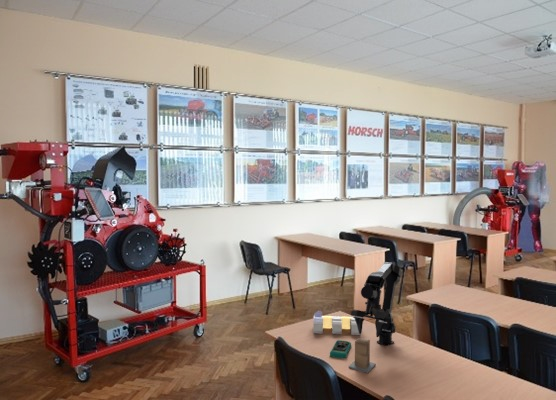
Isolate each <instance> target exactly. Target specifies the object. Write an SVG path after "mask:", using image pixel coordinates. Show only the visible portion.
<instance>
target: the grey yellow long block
mask: <svg viewBox="0 0 556 400" xmlns="http://www.w3.org/2000/svg"><path fill="white" fill-rule="evenodd" d="M313 314H314V315H313V317H312V318H313V334H324V329H331V328H332V329H331V330H332V332H331V334H332V335H342V334H343V333H342V331H343V330H351V332H350V335H352V336H361V334H362V333H361V334H359V331H358V327H357V324H356V321H355V318H353V317H354V316H338V315H337V316H335V315H334V316H333V315H323V312H318V311H316V312H314V313H313Z"/></svg>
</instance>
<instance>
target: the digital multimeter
mask: <svg viewBox="0 0 556 400" xmlns="http://www.w3.org/2000/svg"><path fill="white" fill-rule="evenodd" d="M351 348H352V342H351V341H347V340H339V339H338V340H335V343H334V345H333V347H332V349H331V350H330V351H329V356H330V357H332V358H336V359H343V360H344V359H347V356H348V353H349V351H350V349H351Z"/></svg>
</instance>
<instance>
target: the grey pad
mask: <svg viewBox="0 0 556 400" xmlns="http://www.w3.org/2000/svg"><path fill="white" fill-rule="evenodd" d="M375 366H376V363H375V362H372V361H370V364H369V365H368V366H367V367H366V368H362V367H358V366H355V360H354V361H353V362H352V363H351V364H349V365H348V369H352V370H355V371H358V372H362V373H366V374H369V373H370V372H371V370H373V369H374V367H375Z"/></svg>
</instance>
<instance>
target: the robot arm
mask: <svg viewBox="0 0 556 400" xmlns="http://www.w3.org/2000/svg"><path fill="white" fill-rule="evenodd" d="M402 276H403V271H402V269H401V268H400V267H399V266H397V265H396V264H395V263H393V262H388V261H385V262H383V264H382V266H381V267H380V268H379V269H378V270H377V271H375V272H371V273H370V274H369V275H368V276H367V278H366V281H365V282H364V286H363V287H362V288H361V290H360V295H361V297H362V298H363V299H365V300H366V301H365V303H364V304H365V310H359V309H352V310H351V311H350V316H351V317H353V318H355V321H356V324H357V327H358V331H359V334H362V331H363V324H364V321H365V318H367V319H374V320H375V321H374V324H375V325H374V326H375V332H376V333H375V334H376V338H378V340H377V341H376V344H377V343H378V344H381V345H383V346H387V347H388V346H390V345H393V344H395V341H393V340H392V339H393V337H392V336H393V335H392V334H395V333H396V324H395V323H394V317H393V315H392V309H393V304H394V297H395V292H396V285H398V284H399V282H400V281H401V278H402ZM384 286H385V290H384V296H383V303H382V304H380V301H381V295H382V290H381V289H382V288H384Z"/></svg>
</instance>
